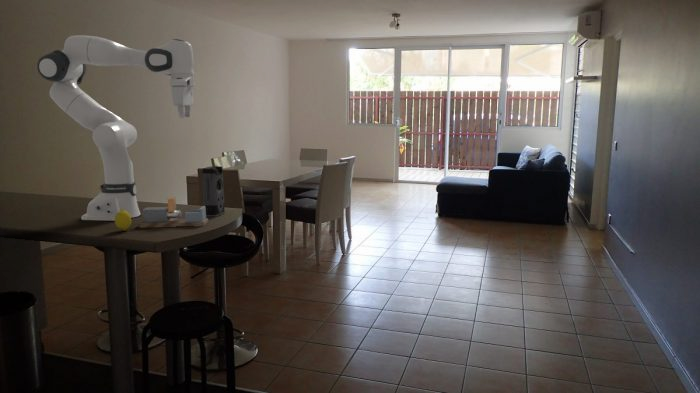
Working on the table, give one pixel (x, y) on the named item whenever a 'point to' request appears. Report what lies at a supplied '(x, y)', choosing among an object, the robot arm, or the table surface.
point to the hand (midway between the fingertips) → (184, 117)
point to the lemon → (123, 220)
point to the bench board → (173, 223)
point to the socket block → (196, 215)
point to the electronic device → (213, 190)
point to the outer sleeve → (155, 214)
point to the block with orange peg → (172, 209)
